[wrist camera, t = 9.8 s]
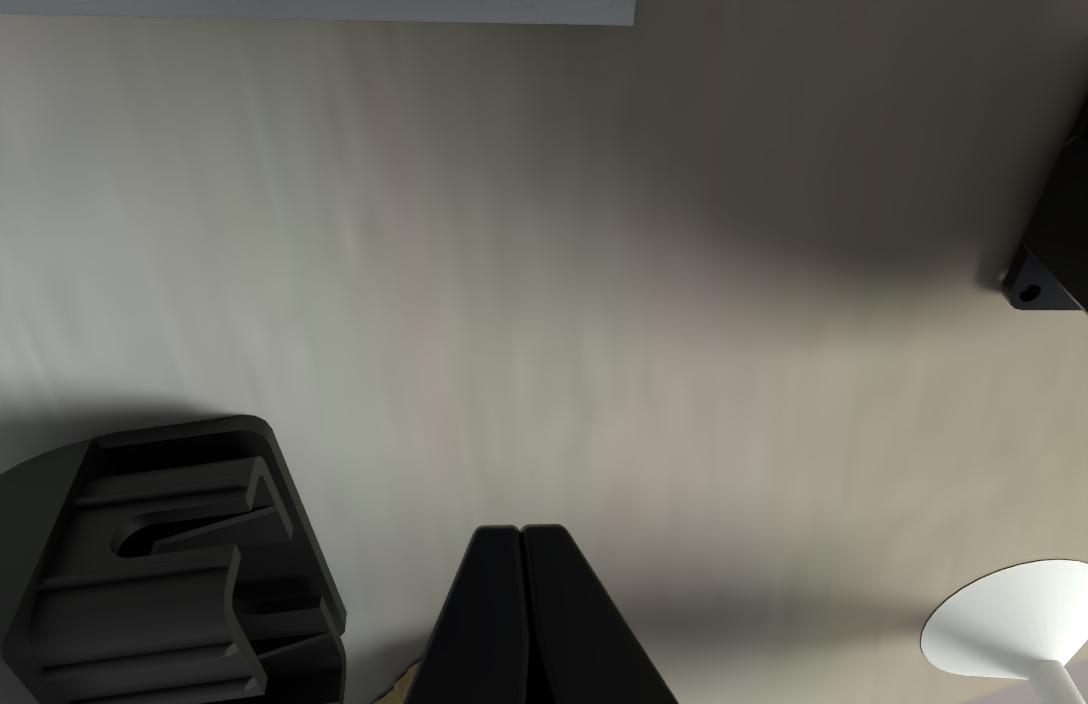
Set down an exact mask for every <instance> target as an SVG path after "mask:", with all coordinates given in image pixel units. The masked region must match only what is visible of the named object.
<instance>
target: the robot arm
mask: <svg viewBox="0 0 1088 704" xmlns="http://www.w3.org/2000/svg"><path fill="white" fill-rule="evenodd" d="M1029 285H1031V286H1030V287H1029V288H1028V289H1027V290H1025V291H1023V292H1021V291H1022V290H1023V289H1024V288H1025V287H1027V286H1029ZM1001 291H1002V294H1003V296H1004V297H1005V299H1006V300H1007V301H1008V302H1009V303H1010V305H1011V306H1013V307H1014V308H1015V309H1020V310H1083V311H1084V312H1085V313H1086V314H1087V315H1088V94H1087V97H1086V99H1085V101H1084V103H1083V106H1082V108H1081V110H1080V112H1079V115H1078V117H1077V119H1076V121H1075V123H1074V126H1073V128H1072V130H1071V132H1070V135H1069V137H1068V139H1067V141H1066V144H1065V146H1064V147H1063V149H1062V151H1061V154H1060V156H1059V158H1058V160H1057V163H1056V165H1055V167H1054V169H1053V172H1052V174H1051V176H1050V178H1049V181H1048V183H1047V185H1046V187H1045V189H1044V192H1043V194H1042V196H1041V198H1040V201H1039V203H1038V205H1037V207H1036V210H1035V212H1034V214H1033V216H1032V219H1031V221H1030V223H1029V225H1028V227H1027V230H1026V232H1025V234H1024V236H1023V239H1022V242H1021V244H1020V246H1019V249H1018V251H1017V253H1016V255H1015V258H1014V260H1013V262H1012V264H1011V266H1010V269H1009V271H1008V273H1007V275H1006V278H1005V280H1004V282H1003V285H1002V290H1001ZM403 704H679V703H678V701H677V700H676V698H675V697H674V695H673V694H672V692H671V690H670V689H669V687H668V686H667V684H666V683H665V681H664V680H663V678H662V676H661V675H660V673H659V672H658V670H657V669H656V667H655V666H654V664H653V662H652V661H651V659H650V658H649V656H648V655H647V653H646V652H645V650H644V648H643V647H642V645H641V644H640V642H639V641H638V639H637V638H636V636H635V634H634V633H633V631H632V630H631V628H630V627H629V625H628V623H627V622H626V620H625V619H624V617H623V616H622V614H621V613H620V611H619V609H618V608H617V606H616V605H615V603H614V602H613V600H612V599H611V597H610V595H609V594H608V592H607V591H606V589H605V588H604V586H603V585H602V583H601V581H600V580H599V578H598V577H597V575H596V574H595V572H594V571H593V569H592V567H591V566H590V564H589V563H588V561H587V560H586V558H585V557H584V555H583V553H582V552H581V550H580V549H579V547H578V546H577V544H576V543H575V541H574V539H573V538H572V536H571V535H570V533H569V532H568V531H567V529H566V528H565V527H564V526H562V525H560V524H528V525H525V526H524V527H522V528H521V530H520V531H519V529H518V528H517V527H516V526H514V525H483V526H479V527H478V528H477V529H476V530H475V531H474V533H473V535H472V537H471V540H470V542H469V544H468V547H467V549H466V552H465V554H464V557H463V559H462V561H461V564H460V566H459V569H458V571H457V573H456V576H455V578H454V581H453V583H452V586H451V588H450V590H449V593H448V595H447V598H446V600H445V603H444V605H443V607H442V610H441V612H440V615H439V617H438V620H437V622H436V624H435V627H434V629H433V632H432V634H431V637H430V639H429V641H428V644H427V646H426V649H425V651H424V654H423V656H422V658H421V661H420V663H419V666H418V668H417V671H416V673H415V675H414V678H413V680H412V683H411V685H410V688H409V690H408V692H407V695H406V697H405V700H404V702H403Z"/></svg>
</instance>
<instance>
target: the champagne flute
mask: <svg viewBox="0 0 1088 704" xmlns="http://www.w3.org/2000/svg"><path fill="white" fill-rule="evenodd" d="M1087 639H1088V564H1087V563H1083V562H1079V561H1070V560H1048V561H1038V562H1032V563H1027V564H1021V565H1018V566H1014V567H1011V568H1008V569H1004V570H1001V571H998V572H996V573H993V574H991V575H989V576H986V577H984V578H981V579H979V580H978V581H976V582H974V583H972V584H970V585H968V586H967V587H965V588H963V589H962V590H960V591H959V592H957V593H956V594H955V595H953V596H952V597H950V598H949V599H948V600H947V601H946V602H944V603H943V604H942V605H941V606H940V607H939V608H938V609H937V610H936V611H935V612H934V614H933V615H932V616H931V618H930V619H929V620H928V622H927V624H926V626H925V628H924V630H923V633H922V638H921V647H922V651H923V654H924V655H925V657H926V658H927V660H928V661H929V662H930V663H932V664H933V665H934V666H936V667H937V668H939V669H942V670H944V671H947V672H949V673H954V674H959V675H967V676H983V677H999V678H1015V679H1029V681H1030V682H1031V684H1032V686H1033V688H1034V690H1035V691H1036V693H1037V695H1038V697H1039V699H1040V700H1041V702H1042V704H1086V703H1085V702H1084V700H1083V698H1082V696H1081V695H1080V693H1079V691H1078V690H1077V688H1076V686H1075V685H1074V683H1073V681H1072V679H1071V678H1070V676H1069V674H1068V673H1067V671H1066V669H1065V668H1064V665H1065V664H1066V663H1067V662H1068V661H1069V660H1070V658H1071V657H1072V656H1073V655H1074V654H1075V653H1076V652H1077V651H1078V650H1079V648H1080V647H1081V646H1082V645H1083V644H1084V643H1085V642H1086V641H1087Z"/></svg>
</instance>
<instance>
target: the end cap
mask: <svg viewBox="0 0 1088 704" xmlns="http://www.w3.org/2000/svg"><path fill="white" fill-rule="evenodd" d="M346 613H347V612H346V610H345V607H344V605H343V602H342V600H341V598H340V595H339V593H338V590H337V588H336V585H335V583H334V580H333V578H332V575H331V573H330V570H329V568H328V566H327V563H326V561H325V558H324V556H323V553H322V551H321V548H320V546H319V543H318V541H317V538H316V536H315V534H314V531H313V529H312V526H311V524H310V521H309V519H308V516H307V514H306V511H305V509H304V506H303V504H302V502H301V499H300V497H299V494H298V492H297V489H296V487H295V484H294V482H293V479H292V477H291V474H290V472H289V470H288V467H287V465H286V462H285V460H284V457H283V455H282V452H281V450H280V447H279V445H278V442H277V440H276V438H275V435H274V433H273V430H272V428H271V427H270V426H269V425H268V423H267V422H266V421H265V420H263V419H260V418H258V417H256V416H247V415H240V416H233V417H225V418H218V419H211V420H203V421H196V422H189V423H181V424H174V425H167V426H159V427H152V428H144V429H137V430H130V431H122V432H115V433H111V434H108V435H104V436H101V437H97V438H94V439H90V440H87V441H83V442H81V443H77V444H72V445H68V446H64V447H61V448H58V449H55V450H52V451H49V452H46V453H43V454H41V455H38V456H36V457H34V458H32V459H29V460H27V461H25V462H22V463H20V464H18V465H16V466H15V467H13V468H11V469H9V470H7V471H6V472H4V473H2V474H0V704H343V699H344V689H345V679H346V656H345V650H344V646H343V643H342V641H341V638H340V636H341V635H342V634H343V633H344V632H345V625H346Z"/></svg>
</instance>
